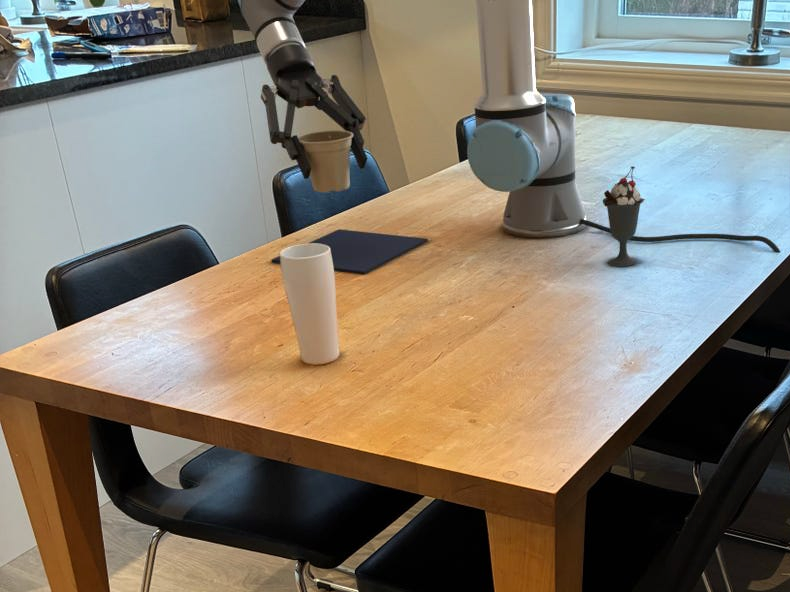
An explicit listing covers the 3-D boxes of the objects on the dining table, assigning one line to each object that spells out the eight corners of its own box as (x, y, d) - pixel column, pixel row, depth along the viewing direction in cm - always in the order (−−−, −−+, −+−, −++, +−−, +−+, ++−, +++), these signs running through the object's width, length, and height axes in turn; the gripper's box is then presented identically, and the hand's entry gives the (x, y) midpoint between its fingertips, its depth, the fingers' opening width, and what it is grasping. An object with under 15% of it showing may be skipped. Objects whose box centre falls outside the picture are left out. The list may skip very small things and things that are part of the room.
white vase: (297, 351, 145) (280, 245, 137) (346, 347, 145) (332, 240, 138) (294, 370, 139) (276, 260, 132) (344, 366, 140) (330, 255, 132)
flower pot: (349, 195, 173) (343, 141, 168) (296, 196, 175) (288, 142, 170) (365, 181, 181) (360, 129, 176) (314, 182, 182) (307, 130, 178)
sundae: (646, 256, 173) (649, 163, 165) (638, 269, 167) (640, 173, 160) (607, 255, 175) (608, 163, 167) (598, 267, 169) (598, 173, 162)
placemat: (428, 241, 188) (427, 238, 188) (364, 274, 174) (364, 271, 173) (339, 231, 197) (338, 229, 197) (271, 262, 183) (271, 259, 182)
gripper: (341, 65, 185) (390, 171, 181) (222, 81, 176) (270, 193, 172) (350, 34, 178) (400, 143, 174) (226, 50, 169) (277, 165, 165)
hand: (336, 168), depth 173 cm, fingers closed on flower pot, 9 cm apart
